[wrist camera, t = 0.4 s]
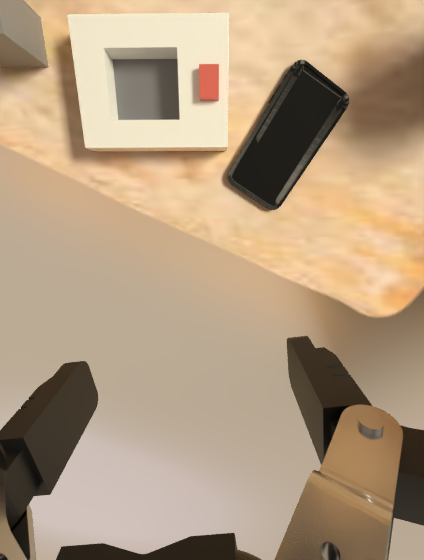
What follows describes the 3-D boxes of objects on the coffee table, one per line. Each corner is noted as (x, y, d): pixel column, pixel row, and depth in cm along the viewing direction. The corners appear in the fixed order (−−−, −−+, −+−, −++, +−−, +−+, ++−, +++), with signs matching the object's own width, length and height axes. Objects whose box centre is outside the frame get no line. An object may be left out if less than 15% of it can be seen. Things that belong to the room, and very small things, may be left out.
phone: (353, 98, 31) (275, 213, 35) (348, 101, 32) (273, 212, 36) (297, 54, 30) (223, 178, 34) (294, 58, 31) (223, 179, 35)
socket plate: (81, 31, 30) (63, 9, 26) (227, 29, 30) (229, 7, 26) (96, 151, 34) (81, 146, 30) (226, 150, 34) (227, 145, 30)
